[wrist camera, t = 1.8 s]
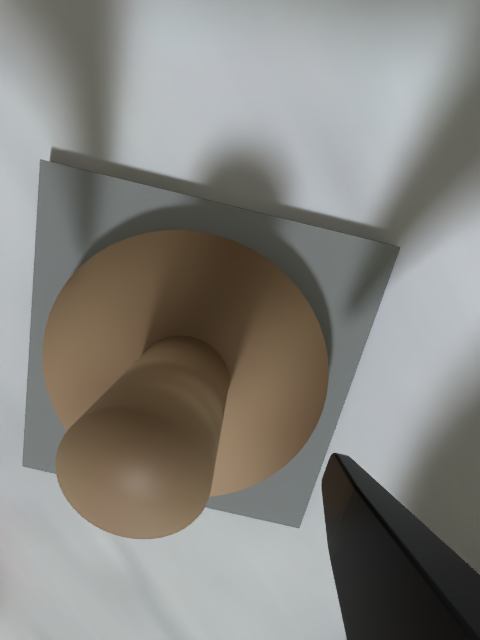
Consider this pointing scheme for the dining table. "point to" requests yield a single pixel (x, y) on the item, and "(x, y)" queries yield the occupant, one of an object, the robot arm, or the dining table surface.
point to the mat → (232, 223)
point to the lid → (178, 378)
